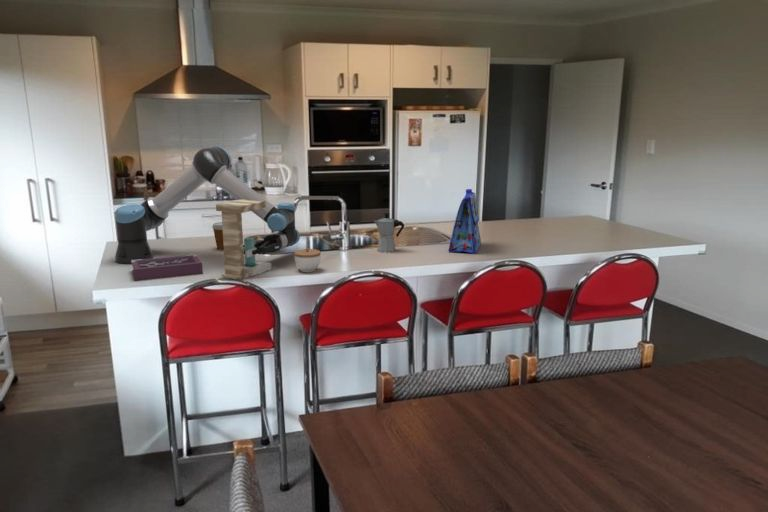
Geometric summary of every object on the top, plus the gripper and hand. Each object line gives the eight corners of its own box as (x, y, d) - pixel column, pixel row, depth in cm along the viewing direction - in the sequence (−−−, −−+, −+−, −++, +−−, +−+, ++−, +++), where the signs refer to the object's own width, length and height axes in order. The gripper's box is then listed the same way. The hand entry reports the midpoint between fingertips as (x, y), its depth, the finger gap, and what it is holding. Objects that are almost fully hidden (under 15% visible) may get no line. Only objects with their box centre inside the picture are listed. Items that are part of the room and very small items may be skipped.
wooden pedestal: (243, 280, 222) (239, 206, 216) (218, 276, 227) (214, 204, 220) (268, 270, 237) (265, 201, 230) (244, 267, 242) (240, 199, 235)
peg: (247, 269, 233) (245, 240, 230) (244, 267, 236) (242, 238, 234) (256, 268, 235) (255, 239, 232) (253, 265, 238) (252, 237, 235)
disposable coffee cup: (228, 251, 270) (227, 225, 267) (209, 250, 272) (208, 225, 269) (237, 246, 279) (236, 222, 276) (219, 245, 281) (217, 221, 278)
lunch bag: (476, 254, 267) (479, 192, 260) (447, 252, 270) (449, 190, 263) (481, 244, 287) (484, 186, 280) (454, 243, 290) (456, 185, 284)
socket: (253, 276, 228) (253, 270, 228) (229, 272, 233) (228, 266, 232) (271, 269, 239) (271, 263, 238) (247, 265, 244) (247, 260, 243)
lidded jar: (296, 274, 231) (295, 251, 229) (293, 267, 241) (292, 245, 239) (323, 272, 234) (322, 250, 232) (318, 266, 244) (318, 244, 242)
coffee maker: (370, 251, 271) (370, 213, 266) (376, 247, 279) (376, 210, 275) (401, 254, 266) (401, 215, 262) (406, 250, 275) (406, 212, 270)
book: (196, 265, 246) (196, 254, 245) (203, 274, 232) (202, 262, 230) (132, 272, 235) (131, 260, 234) (134, 282, 221) (133, 269, 220)
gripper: (291, 252, 248) (259, 265, 227) (258, 248, 254) (224, 260, 233) (291, 235, 246) (258, 246, 225) (258, 232, 252) (223, 242, 232)
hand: (241, 253), depth 229 cm, fingers closed on peg, 4 cm apart
